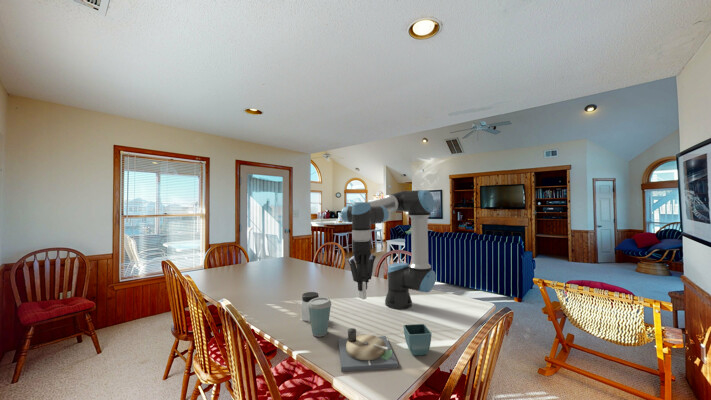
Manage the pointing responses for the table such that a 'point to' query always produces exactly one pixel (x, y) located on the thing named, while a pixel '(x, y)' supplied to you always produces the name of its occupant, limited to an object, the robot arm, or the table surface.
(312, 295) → the jar
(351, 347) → the dial
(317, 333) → the disposable coffee cup
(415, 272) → the robot arm
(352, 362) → the tuner base
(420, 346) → the flower pot
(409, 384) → the table surface
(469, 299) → the table surface
